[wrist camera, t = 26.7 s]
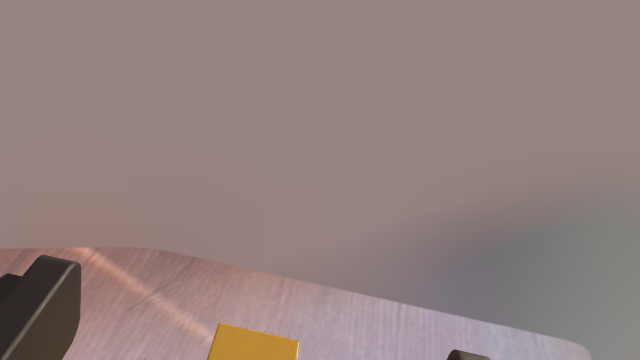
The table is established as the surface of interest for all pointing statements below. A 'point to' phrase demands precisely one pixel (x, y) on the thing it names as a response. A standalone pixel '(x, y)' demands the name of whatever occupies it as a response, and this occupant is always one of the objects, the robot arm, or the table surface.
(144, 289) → the table surface
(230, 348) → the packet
